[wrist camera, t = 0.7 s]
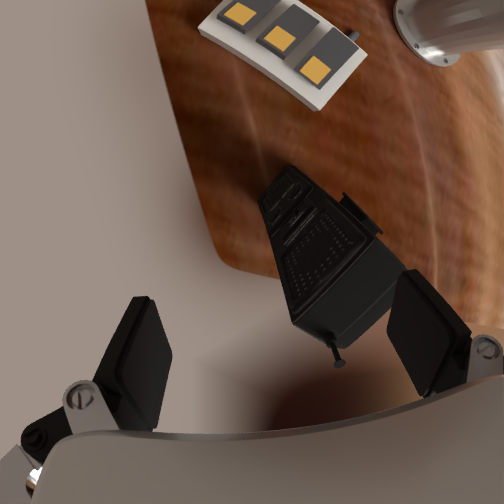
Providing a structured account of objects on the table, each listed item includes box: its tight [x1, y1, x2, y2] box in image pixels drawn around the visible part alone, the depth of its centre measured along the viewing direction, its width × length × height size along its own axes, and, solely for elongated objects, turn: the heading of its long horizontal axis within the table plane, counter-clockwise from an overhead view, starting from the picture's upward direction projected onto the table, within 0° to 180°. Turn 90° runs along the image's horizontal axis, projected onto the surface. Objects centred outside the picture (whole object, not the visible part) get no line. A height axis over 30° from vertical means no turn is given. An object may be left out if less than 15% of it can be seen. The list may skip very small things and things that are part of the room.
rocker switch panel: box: [198, 0, 368, 111], centre depth 25 cm, size 13×17×3 cm
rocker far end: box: [216, 0, 281, 34], centre depth 22 cm, size 7×4×2 cm, turn 143°
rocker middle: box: [255, 4, 320, 60], centre depth 23 cm, size 7×4×2 cm, turn 142°
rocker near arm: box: [293, 26, 359, 90], centre depth 25 cm, size 7×4×2 cm, turn 144°
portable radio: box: [258, 166, 407, 368], centre depth 24 cm, size 8×6×25 cm
